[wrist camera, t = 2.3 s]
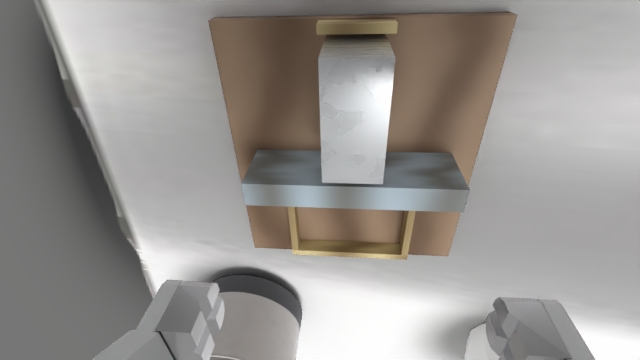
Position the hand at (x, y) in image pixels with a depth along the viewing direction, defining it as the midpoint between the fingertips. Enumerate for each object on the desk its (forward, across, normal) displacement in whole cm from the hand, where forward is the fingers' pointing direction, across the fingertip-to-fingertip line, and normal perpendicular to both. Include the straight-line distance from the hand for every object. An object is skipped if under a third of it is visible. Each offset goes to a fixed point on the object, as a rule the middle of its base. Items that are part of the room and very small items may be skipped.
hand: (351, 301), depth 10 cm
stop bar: (+18, 0, 0) cm, 18 cm away
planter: (+19, +12, +28) cm, 36 cm away
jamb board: (+19, 0, +6) cm, 20 cm away
